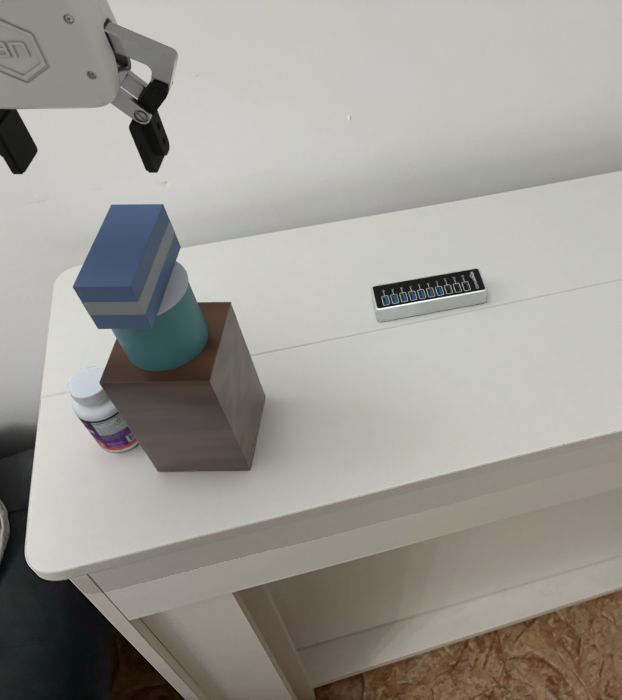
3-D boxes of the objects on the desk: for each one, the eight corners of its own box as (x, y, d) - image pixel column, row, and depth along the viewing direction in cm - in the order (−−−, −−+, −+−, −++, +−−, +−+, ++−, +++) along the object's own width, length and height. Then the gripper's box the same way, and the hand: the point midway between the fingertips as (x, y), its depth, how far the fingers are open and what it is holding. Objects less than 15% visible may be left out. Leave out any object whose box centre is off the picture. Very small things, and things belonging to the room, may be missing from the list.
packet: (152, 329, 59) (130, 286, 55) (97, 329, 59) (71, 287, 55) (181, 246, 65) (163, 203, 61) (131, 247, 65) (110, 204, 61)
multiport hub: (372, 298, 93) (370, 285, 91) (478, 279, 95) (479, 266, 93) (377, 322, 90) (376, 310, 88) (487, 302, 93) (487, 290, 91)
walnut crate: (250, 470, 77) (209, 381, 64) (157, 471, 76) (98, 383, 64) (265, 395, 83) (230, 301, 71) (179, 396, 83) (130, 302, 70)
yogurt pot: (200, 372, 65) (175, 320, 59) (113, 373, 65) (80, 321, 59) (218, 309, 70) (196, 255, 64) (137, 310, 70) (109, 256, 64)
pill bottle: (95, 423, 80) (57, 371, 73) (144, 407, 82) (111, 354, 74) (101, 461, 77) (62, 410, 70) (152, 443, 79) (119, 392, 71)
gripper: (-230, -70, 37) (-48, 195, 50) (104, -72, 37) (198, 192, 50) (-153, -119, 42) (-5, 135, 55) (143, -120, 42) (219, 132, 55)
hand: (92, 162), depth 53 cm, fingers open, 9 cm apart
